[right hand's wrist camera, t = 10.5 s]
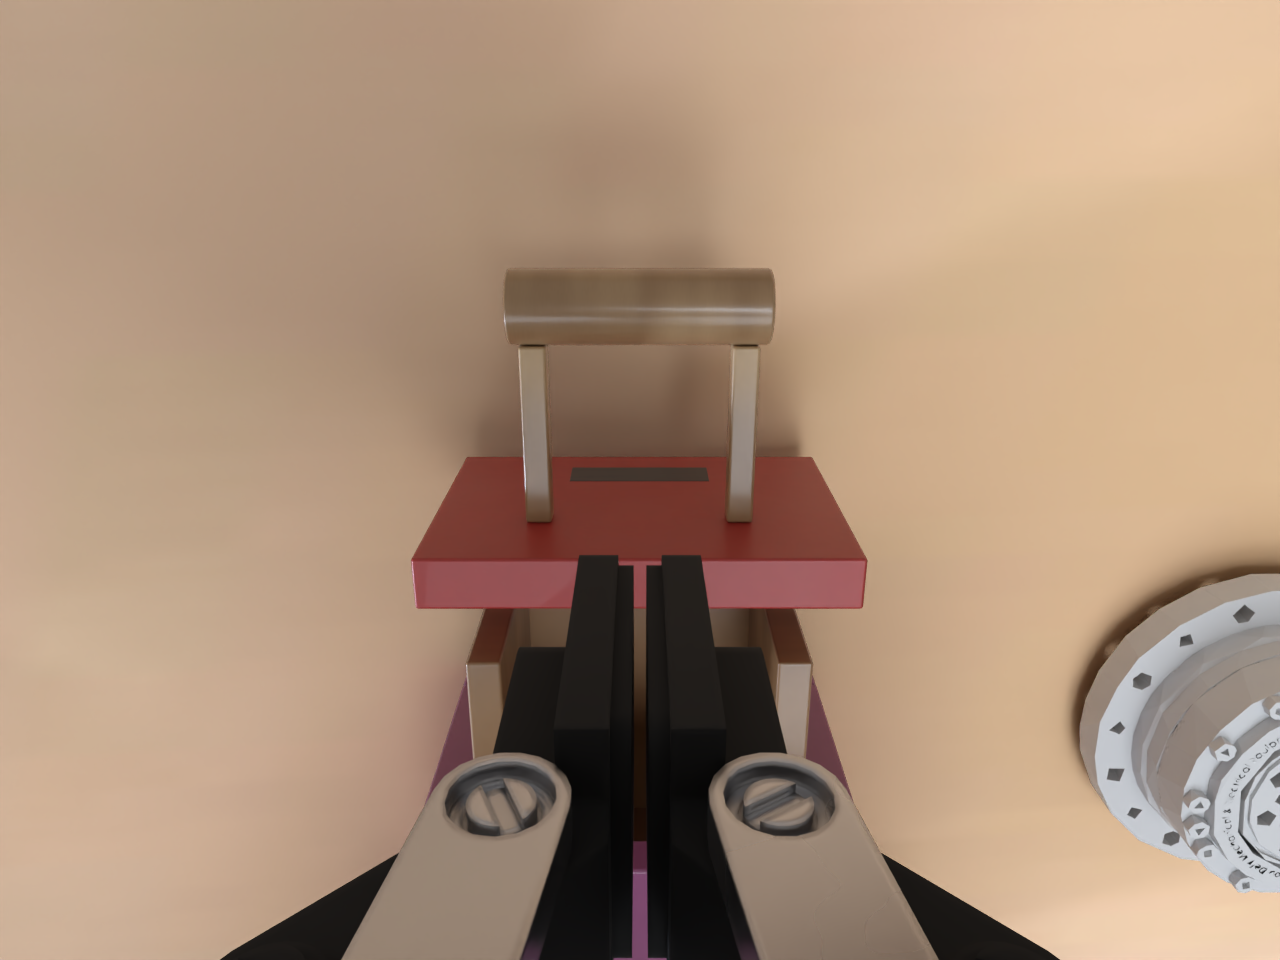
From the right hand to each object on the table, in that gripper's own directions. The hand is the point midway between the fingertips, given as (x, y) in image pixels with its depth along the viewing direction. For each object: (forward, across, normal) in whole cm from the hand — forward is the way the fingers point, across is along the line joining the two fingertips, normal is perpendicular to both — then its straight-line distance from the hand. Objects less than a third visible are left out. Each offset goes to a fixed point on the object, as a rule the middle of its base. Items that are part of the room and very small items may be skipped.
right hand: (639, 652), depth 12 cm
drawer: (+13, 0, -5) cm, 14 cm away
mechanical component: (+14, +19, -10) cm, 26 cm away
